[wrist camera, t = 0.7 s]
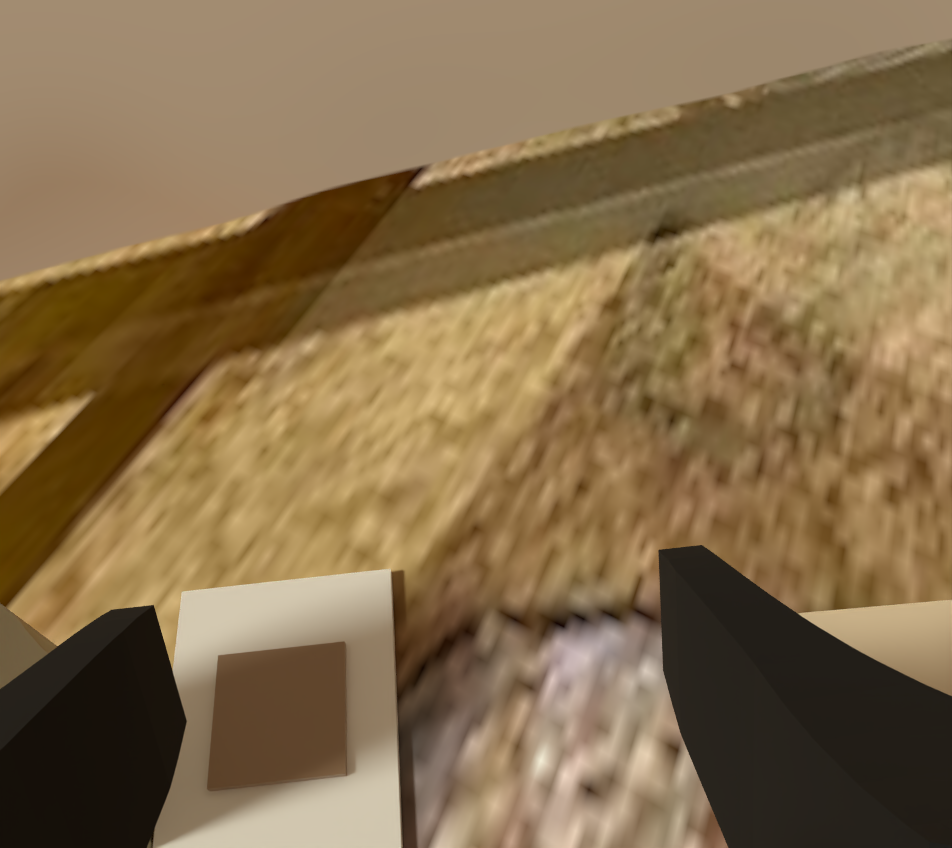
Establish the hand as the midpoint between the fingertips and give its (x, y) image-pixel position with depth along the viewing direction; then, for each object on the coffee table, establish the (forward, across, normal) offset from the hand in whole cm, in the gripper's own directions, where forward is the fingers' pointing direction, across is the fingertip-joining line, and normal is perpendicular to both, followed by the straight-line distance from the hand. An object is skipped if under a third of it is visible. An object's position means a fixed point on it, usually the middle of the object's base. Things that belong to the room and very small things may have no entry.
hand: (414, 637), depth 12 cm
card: (+11, +6, +10) cm, 16 cm away
